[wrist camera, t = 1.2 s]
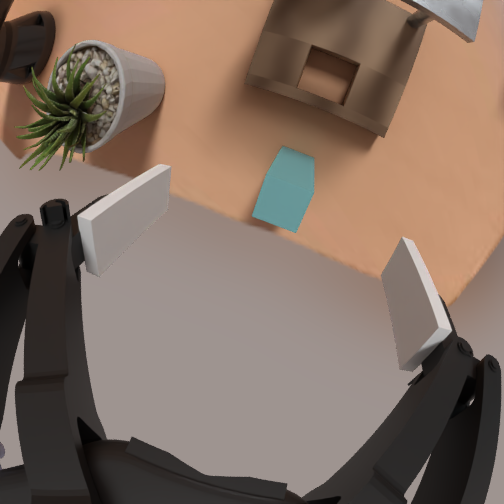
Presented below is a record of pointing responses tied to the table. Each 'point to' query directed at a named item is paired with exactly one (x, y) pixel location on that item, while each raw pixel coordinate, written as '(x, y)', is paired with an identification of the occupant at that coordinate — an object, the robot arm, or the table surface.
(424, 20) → the grey metal bridge
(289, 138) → the table surface
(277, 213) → the peg
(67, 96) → the potted plant
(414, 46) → the socket plate
